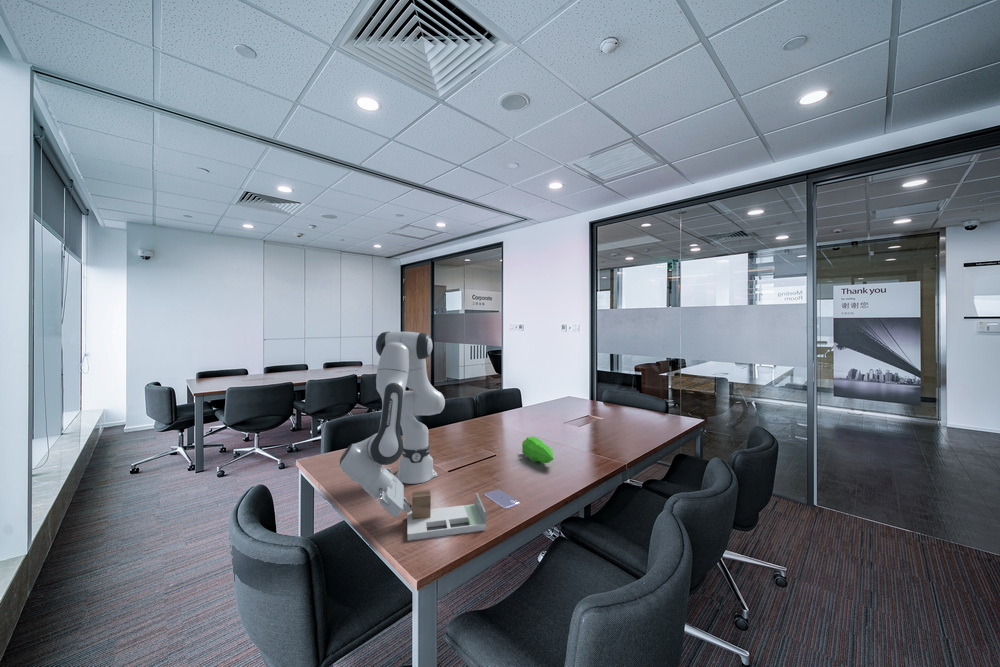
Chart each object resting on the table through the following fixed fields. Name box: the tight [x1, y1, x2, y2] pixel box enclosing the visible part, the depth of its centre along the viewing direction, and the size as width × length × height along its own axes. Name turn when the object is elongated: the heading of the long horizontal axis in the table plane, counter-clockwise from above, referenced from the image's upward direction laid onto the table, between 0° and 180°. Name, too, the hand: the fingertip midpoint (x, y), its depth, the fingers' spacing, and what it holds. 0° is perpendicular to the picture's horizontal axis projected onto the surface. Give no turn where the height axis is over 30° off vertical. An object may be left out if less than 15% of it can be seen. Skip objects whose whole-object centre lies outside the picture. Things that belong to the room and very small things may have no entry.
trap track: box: [406, 492, 487, 541], centre depth 126 cm, size 15×25×6 cm, turn 104°
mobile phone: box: [484, 489, 521, 509], centre depth 145 cm, size 8×1×15 cm
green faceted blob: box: [521, 436, 554, 465], centre depth 186 cm, size 11×12×30 cm
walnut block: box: [411, 489, 432, 520], centre depth 127 cm, size 5×6×8 cm
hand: (410, 509), depth 127 cm, fingers closed
